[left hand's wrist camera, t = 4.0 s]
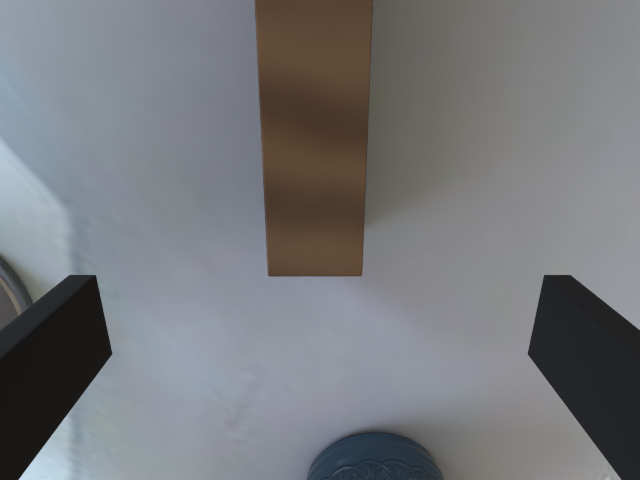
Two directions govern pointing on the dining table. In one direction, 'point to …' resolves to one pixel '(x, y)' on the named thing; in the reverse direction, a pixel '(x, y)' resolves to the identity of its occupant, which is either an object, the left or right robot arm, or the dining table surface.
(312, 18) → the post
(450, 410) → the dining table surface
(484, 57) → the dining table surface
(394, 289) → the dining table surface
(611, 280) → the dining table surface
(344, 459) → the canister
